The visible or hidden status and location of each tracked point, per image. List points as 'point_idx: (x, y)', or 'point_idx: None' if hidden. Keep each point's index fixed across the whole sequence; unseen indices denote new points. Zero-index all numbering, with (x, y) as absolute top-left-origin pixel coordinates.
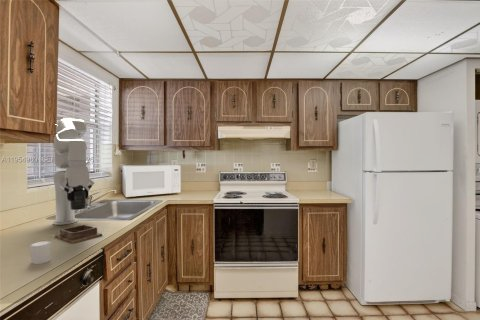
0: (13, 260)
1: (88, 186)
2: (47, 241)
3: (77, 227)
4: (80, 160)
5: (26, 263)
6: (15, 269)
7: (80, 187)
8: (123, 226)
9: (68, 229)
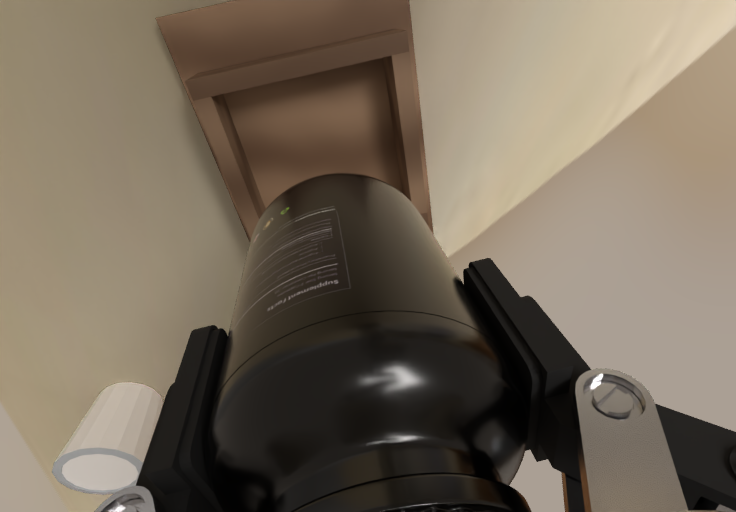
0: (2, 344)
1: (718, 497)
2: (128, 459)
3: (334, 67)
4: None
5: (78, 397)
6: (53, 427)
7: None
8: (635, 100)
9: (257, 85)
